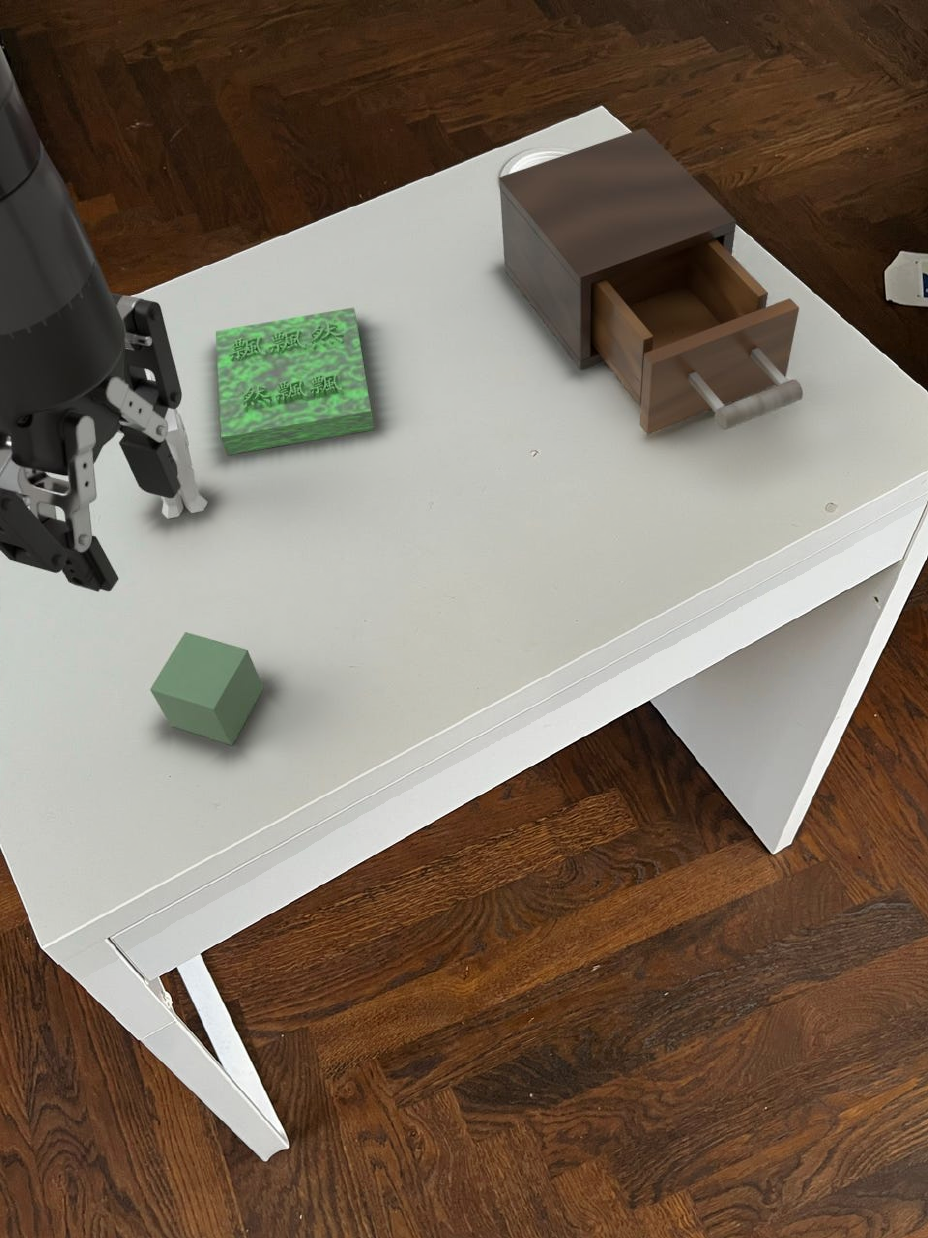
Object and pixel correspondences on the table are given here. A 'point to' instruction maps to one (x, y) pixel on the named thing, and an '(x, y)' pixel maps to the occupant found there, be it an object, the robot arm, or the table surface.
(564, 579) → the table surface
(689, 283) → the drawer
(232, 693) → the block
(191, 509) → the toy robot
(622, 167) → the cabinet
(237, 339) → the green jade tablet
